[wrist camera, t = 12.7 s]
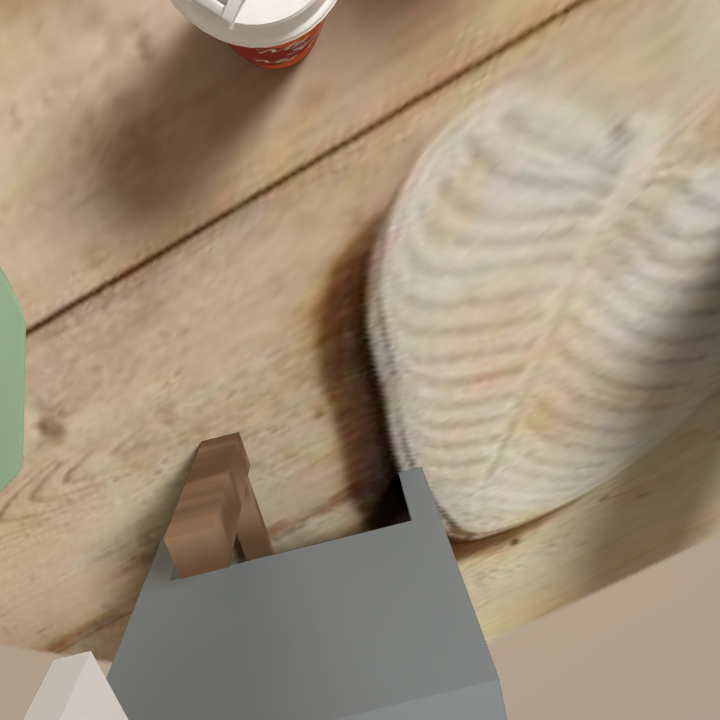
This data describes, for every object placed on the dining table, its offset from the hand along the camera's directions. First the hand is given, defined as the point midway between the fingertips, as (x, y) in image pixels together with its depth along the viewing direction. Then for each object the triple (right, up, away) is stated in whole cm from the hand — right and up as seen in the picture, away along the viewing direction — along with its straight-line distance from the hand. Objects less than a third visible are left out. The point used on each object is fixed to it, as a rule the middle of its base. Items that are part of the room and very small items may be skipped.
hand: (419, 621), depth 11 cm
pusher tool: (-10, -9, +35) cm, 38 cm away
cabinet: (-6, -11, +36) cm, 38 cm away
